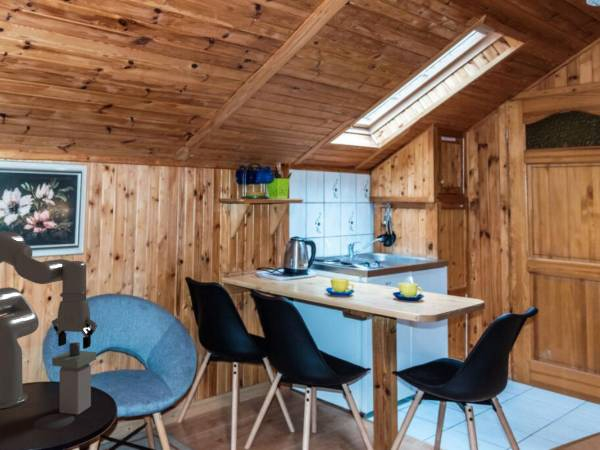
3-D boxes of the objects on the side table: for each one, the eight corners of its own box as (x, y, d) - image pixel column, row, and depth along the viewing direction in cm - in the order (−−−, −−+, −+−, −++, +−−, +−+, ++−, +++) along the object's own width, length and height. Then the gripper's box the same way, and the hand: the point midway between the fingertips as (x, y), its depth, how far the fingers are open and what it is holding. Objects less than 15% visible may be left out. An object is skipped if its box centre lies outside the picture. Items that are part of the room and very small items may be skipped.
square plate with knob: (52, 365, 164) (52, 346, 164) (71, 357, 173) (71, 338, 173) (77, 368, 162) (77, 348, 161) (96, 359, 171) (96, 340, 171)
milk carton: (77, 416, 164) (77, 360, 163) (59, 414, 165) (59, 359, 165) (90, 407, 171) (90, 354, 170) (73, 405, 172) (72, 352, 172)
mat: (24, 429, 154) (24, 427, 154) (51, 413, 166) (51, 411, 166) (57, 433, 151) (57, 431, 151) (82, 417, 163) (82, 415, 163)
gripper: (44, 297, 165) (45, 347, 166) (89, 301, 161) (89, 351, 162) (60, 293, 172) (60, 341, 173) (103, 296, 168) (103, 345, 169)
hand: (74, 346), depth 167 cm, fingers open, 9 cm apart
